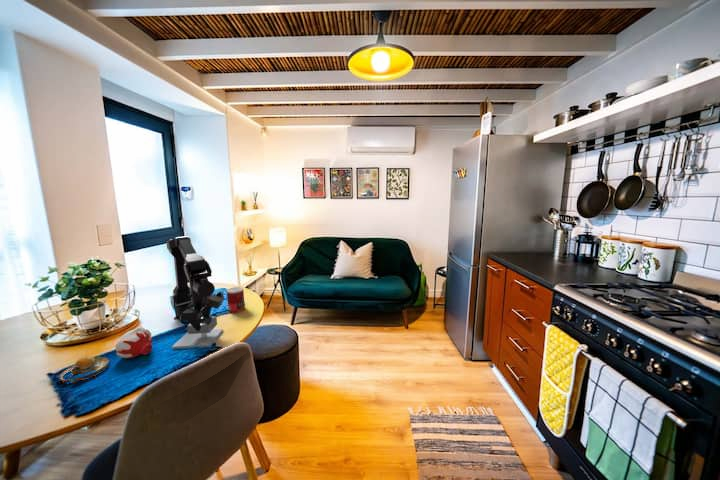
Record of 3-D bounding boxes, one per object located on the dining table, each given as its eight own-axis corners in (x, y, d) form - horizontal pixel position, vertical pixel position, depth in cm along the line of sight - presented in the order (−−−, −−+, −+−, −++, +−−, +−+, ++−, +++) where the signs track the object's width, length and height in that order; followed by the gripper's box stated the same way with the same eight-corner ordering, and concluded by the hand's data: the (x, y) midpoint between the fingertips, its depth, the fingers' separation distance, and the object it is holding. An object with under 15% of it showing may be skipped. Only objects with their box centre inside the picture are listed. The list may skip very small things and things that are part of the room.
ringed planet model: (108, 357, 95) (104, 338, 94) (113, 370, 87) (109, 350, 86) (58, 374, 86) (53, 354, 85) (59, 391, 78) (54, 369, 77)
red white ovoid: (140, 341, 104) (166, 352, 100) (105, 357, 94) (133, 370, 89) (139, 320, 102) (165, 331, 98) (103, 334, 92) (131, 347, 87)
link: (188, 334, 102) (187, 325, 101) (197, 325, 109) (196, 317, 108) (209, 332, 103) (208, 324, 102) (217, 324, 109) (216, 316, 109)
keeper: (172, 349, 100) (170, 337, 99) (189, 332, 111) (187, 322, 110) (210, 346, 101) (209, 335, 100) (223, 331, 113) (222, 320, 112)
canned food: (240, 312, 130) (239, 292, 128) (225, 312, 130) (223, 292, 128) (247, 306, 138) (246, 287, 136) (232, 306, 138) (231, 286, 136)
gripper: (209, 298, 94) (213, 337, 97) (229, 281, 113) (232, 314, 115) (176, 299, 93) (181, 339, 96) (202, 282, 112) (205, 315, 114)
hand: (202, 326), depth 105 cm, fingers closed on link, 7 cm apart
